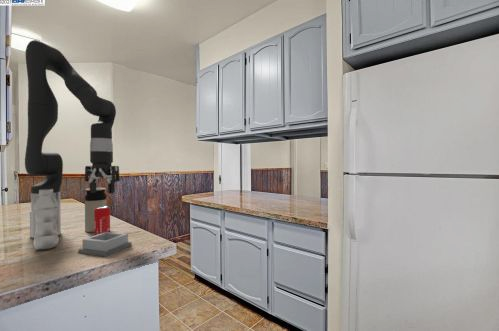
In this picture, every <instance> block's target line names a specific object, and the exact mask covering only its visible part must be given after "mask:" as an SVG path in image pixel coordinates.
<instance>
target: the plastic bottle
mask: <svg viewBox="0 0 499 331" xmlns="http://www.w3.org/2000/svg"><path fill="white" fill-rule="evenodd" d="M52 195H54V193H53V189H43V190H39V196H40V198H39V199H38V200H37V201H36V203H35V204H34V212H35V217H36V232H35V237H34V238H33V247H34V248H35V249H36V250H48V249H52V248H56V247H57V245H59V239H60V238H59V235H58V233H57V225H56V220H57V212H58V205H59V204H58V202H57V200H56V199H55V198H54V197H53V196H52Z"/></svg>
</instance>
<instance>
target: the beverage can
mask: <svg viewBox="0 0 499 331" xmlns="http://www.w3.org/2000/svg"><path fill="white" fill-rule="evenodd" d="M94 226H95V232H94V236H95V235H98V234H101V233H104V232H111V207H110V206H109V205H108V206H107V205H106V206H102V207H96V208H95V210H94Z"/></svg>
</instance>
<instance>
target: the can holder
mask: <svg viewBox="0 0 499 331" xmlns="http://www.w3.org/2000/svg"><path fill="white" fill-rule="evenodd" d="M131 246H132V241H129V234H128V233H125V232H123V233H122V232H121V233H120V232H113V231H112V232H111V231H110V232H104V233H101V234H98V235H95V234H94V235H93V236H89V237H85V238H83V239H82V247H81V248H78V254H83V255H84V254H85V255H91V256H92V255H93V256H100V257H101V256H102V257H108V256H110V255H112V254H114V253H115V254H116V253H117V252H119V251H121V250H124V249H126V248H128V247H131Z"/></svg>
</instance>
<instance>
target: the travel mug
mask: <svg viewBox="0 0 499 331" xmlns="http://www.w3.org/2000/svg"><path fill="white" fill-rule="evenodd" d="M96 189H97V191H96V193H90V187H89V188H85V190H84V191H86V194H85V196H84V232H86V233H95V226H94V210H95V208H96V207H102V206H107V194H106V193H105V192H106V187H96Z"/></svg>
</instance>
